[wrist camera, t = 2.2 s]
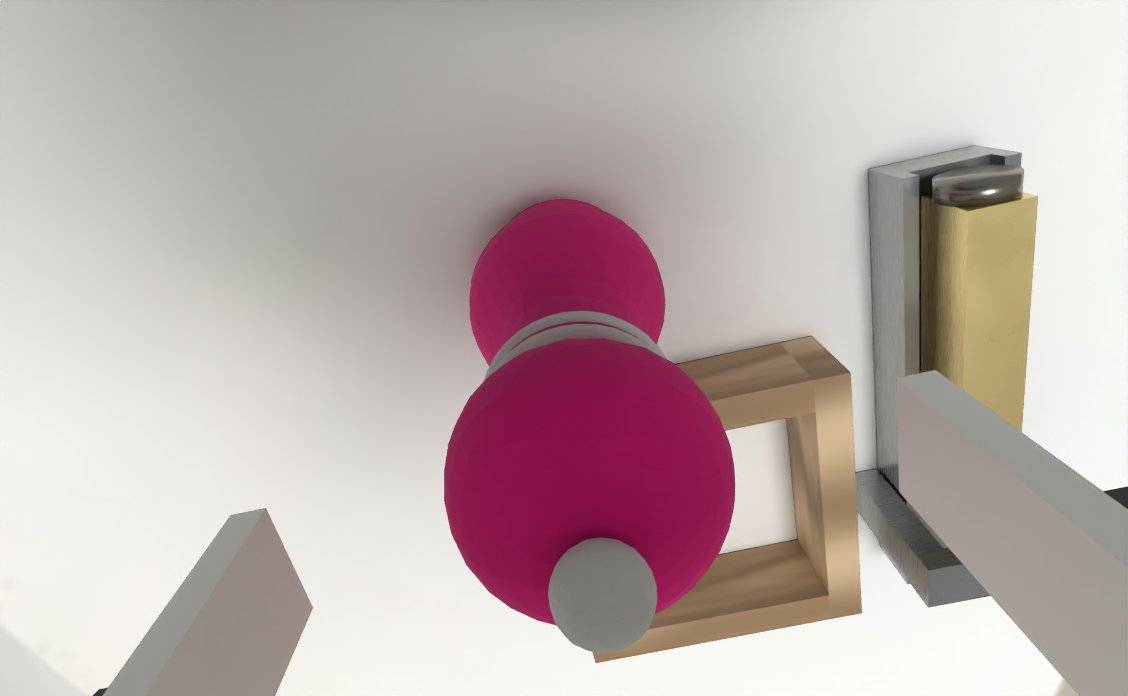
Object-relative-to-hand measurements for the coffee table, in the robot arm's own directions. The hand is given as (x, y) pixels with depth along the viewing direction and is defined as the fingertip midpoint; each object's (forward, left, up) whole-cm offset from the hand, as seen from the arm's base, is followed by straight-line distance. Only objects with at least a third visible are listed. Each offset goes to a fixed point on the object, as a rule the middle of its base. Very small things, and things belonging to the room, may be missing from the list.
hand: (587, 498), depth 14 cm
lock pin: (+4, +16, -14) cm, 21 cm away
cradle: (+12, +4, -16) cm, 20 cm away
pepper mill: (0, 0, -16) cm, 16 cm away
